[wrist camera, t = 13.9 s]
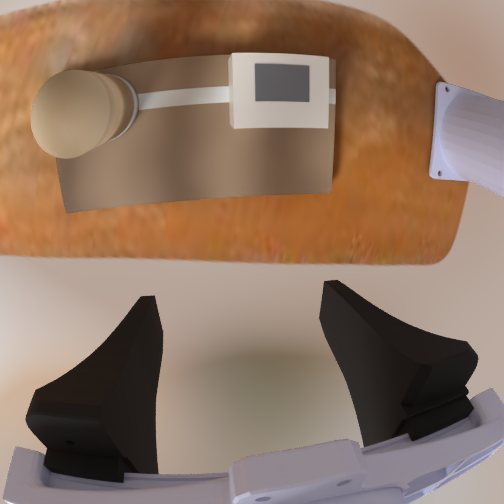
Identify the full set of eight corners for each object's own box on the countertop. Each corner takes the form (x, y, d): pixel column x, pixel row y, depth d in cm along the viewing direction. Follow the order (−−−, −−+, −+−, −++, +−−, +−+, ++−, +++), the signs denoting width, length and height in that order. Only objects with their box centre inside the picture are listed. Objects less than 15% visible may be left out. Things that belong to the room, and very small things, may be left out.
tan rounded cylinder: (137, 69, 15) (108, 59, 10) (141, 135, 17) (114, 152, 12) (75, 82, 15) (27, 81, 10) (80, 144, 17) (35, 166, 12)
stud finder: (311, 61, 16) (329, 56, 14) (311, 123, 18) (328, 128, 16) (228, 59, 16) (232, 52, 13) (229, 124, 18) (234, 128, 15)
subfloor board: (328, 60, 18) (335, 59, 17) (325, 187, 22) (331, 193, 21) (56, 82, 16) (48, 82, 14) (72, 207, 20) (66, 213, 19)
